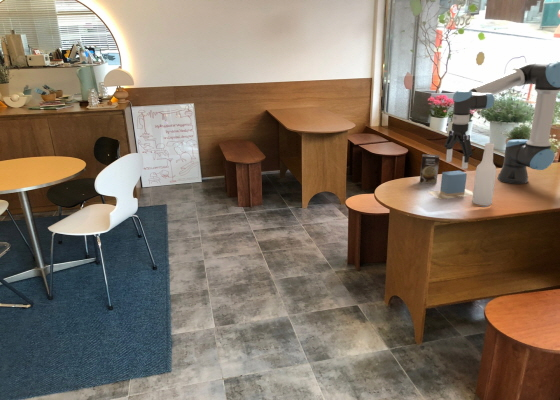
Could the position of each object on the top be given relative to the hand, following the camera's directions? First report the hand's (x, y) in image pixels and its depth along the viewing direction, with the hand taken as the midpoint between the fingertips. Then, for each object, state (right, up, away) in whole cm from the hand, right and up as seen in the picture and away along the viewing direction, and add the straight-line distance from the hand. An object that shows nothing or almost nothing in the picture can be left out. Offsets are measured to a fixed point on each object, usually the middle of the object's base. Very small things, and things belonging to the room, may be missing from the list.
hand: (456, 165), depth 226 cm
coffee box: (-6, -8, +25) cm, 27 cm away
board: (0, -15, +5) cm, 16 cm away
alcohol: (+9, -20, -7) cm, 23 cm away
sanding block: (0, -14, +5) cm, 15 cm away
